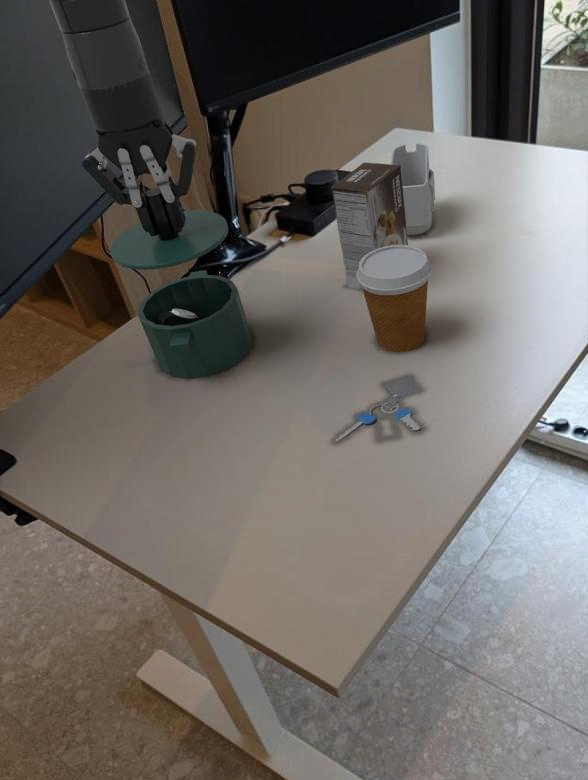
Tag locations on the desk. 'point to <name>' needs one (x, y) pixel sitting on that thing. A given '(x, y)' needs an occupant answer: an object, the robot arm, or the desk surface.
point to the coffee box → (369, 213)
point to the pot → (196, 326)
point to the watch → (174, 312)
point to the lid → (168, 237)
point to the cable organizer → (416, 187)
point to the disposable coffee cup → (396, 294)
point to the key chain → (397, 391)
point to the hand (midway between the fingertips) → (166, 231)
